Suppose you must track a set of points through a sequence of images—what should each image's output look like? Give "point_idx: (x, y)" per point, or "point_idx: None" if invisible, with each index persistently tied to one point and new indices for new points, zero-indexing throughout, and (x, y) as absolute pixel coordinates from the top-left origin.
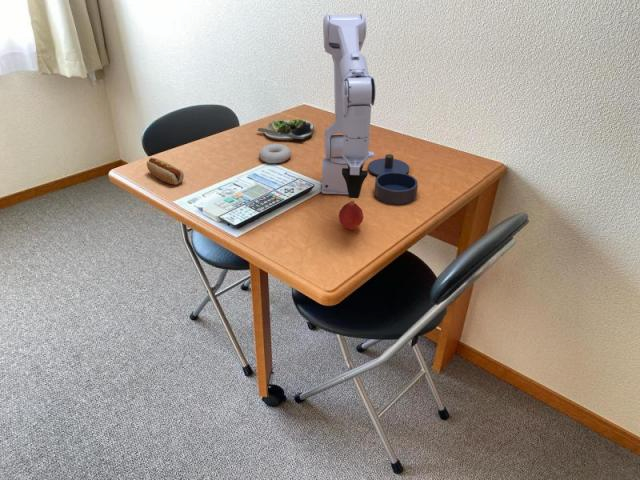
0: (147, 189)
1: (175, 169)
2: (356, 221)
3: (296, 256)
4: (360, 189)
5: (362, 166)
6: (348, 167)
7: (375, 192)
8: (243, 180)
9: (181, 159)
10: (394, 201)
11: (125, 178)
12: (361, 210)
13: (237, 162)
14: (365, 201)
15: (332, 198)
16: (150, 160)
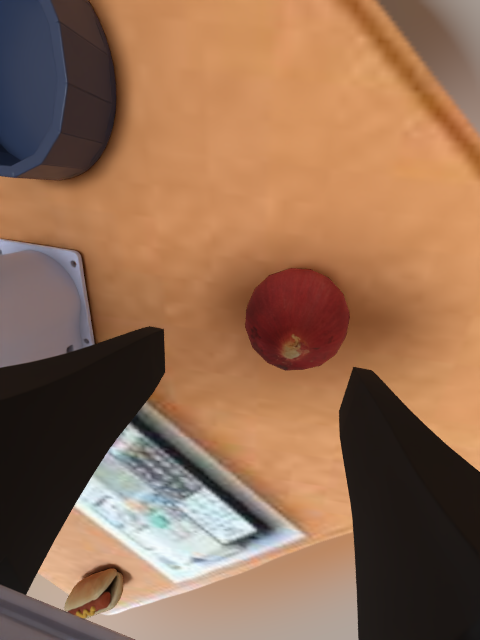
0: (142, 598)
1: (98, 607)
2: (346, 306)
3: None
4: (412, 414)
5: (72, 377)
6: (101, 458)
7: (58, 177)
8: None
9: None
10: (106, 88)
11: (115, 610)
12: (300, 288)
13: None
14: (113, 221)
15: (114, 327)
16: None
